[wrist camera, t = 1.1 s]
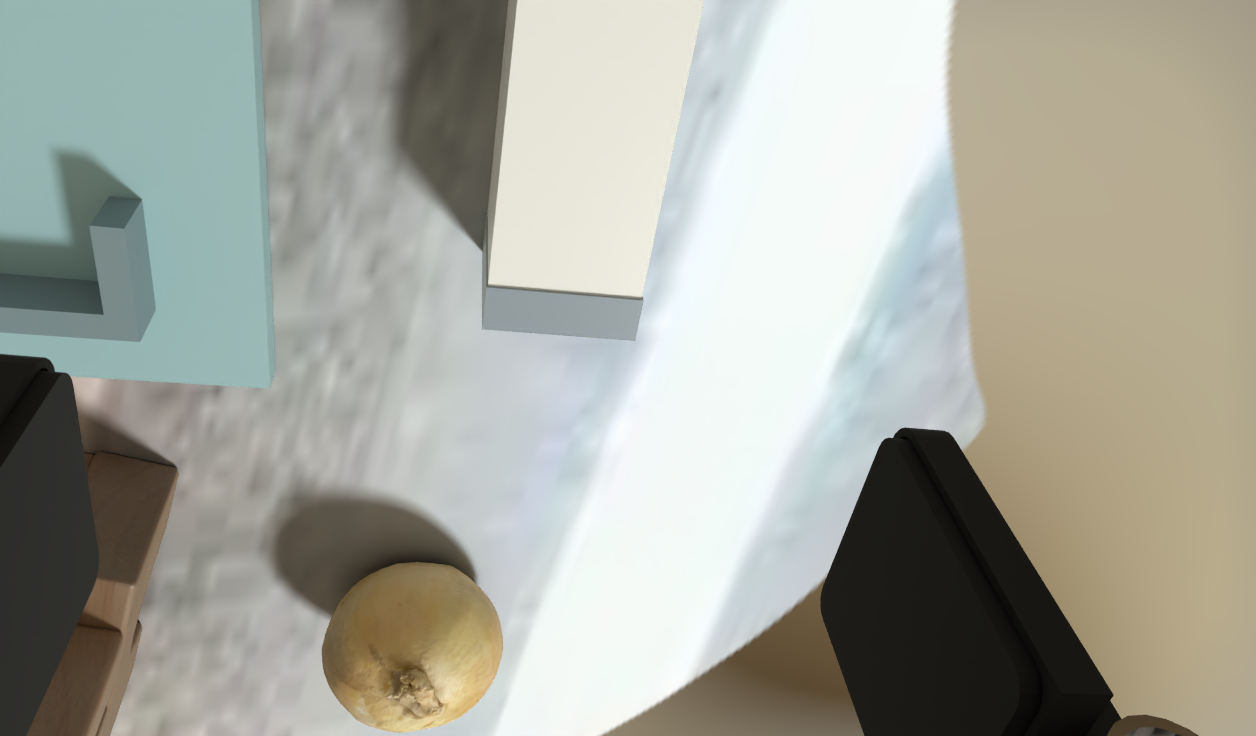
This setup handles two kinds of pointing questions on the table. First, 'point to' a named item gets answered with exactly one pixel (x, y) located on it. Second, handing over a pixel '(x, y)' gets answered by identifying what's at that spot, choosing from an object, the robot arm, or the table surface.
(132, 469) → the wooden toy
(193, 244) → the cradle
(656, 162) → the white pillar block
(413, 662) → the onion
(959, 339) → the table surface
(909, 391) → the table surface
